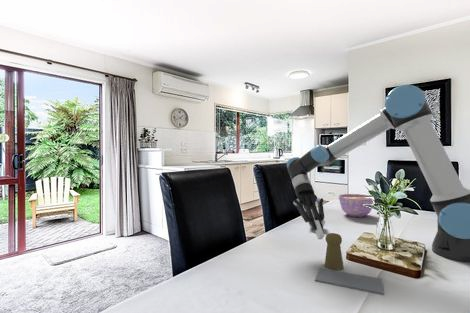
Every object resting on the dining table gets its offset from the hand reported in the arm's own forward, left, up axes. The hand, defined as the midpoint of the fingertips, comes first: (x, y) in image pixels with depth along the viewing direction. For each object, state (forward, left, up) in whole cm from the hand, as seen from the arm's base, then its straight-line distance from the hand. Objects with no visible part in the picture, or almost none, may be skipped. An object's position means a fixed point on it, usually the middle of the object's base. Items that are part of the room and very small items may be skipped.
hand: (321, 237), depth 97 cm
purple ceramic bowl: (-9, -74, -7) cm, 75 cm away
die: (+8, -36, -7) cm, 38 cm away
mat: (-10, +16, -7) cm, 20 cm away
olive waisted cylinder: (-5, +7, -7) cm, 11 cm away
